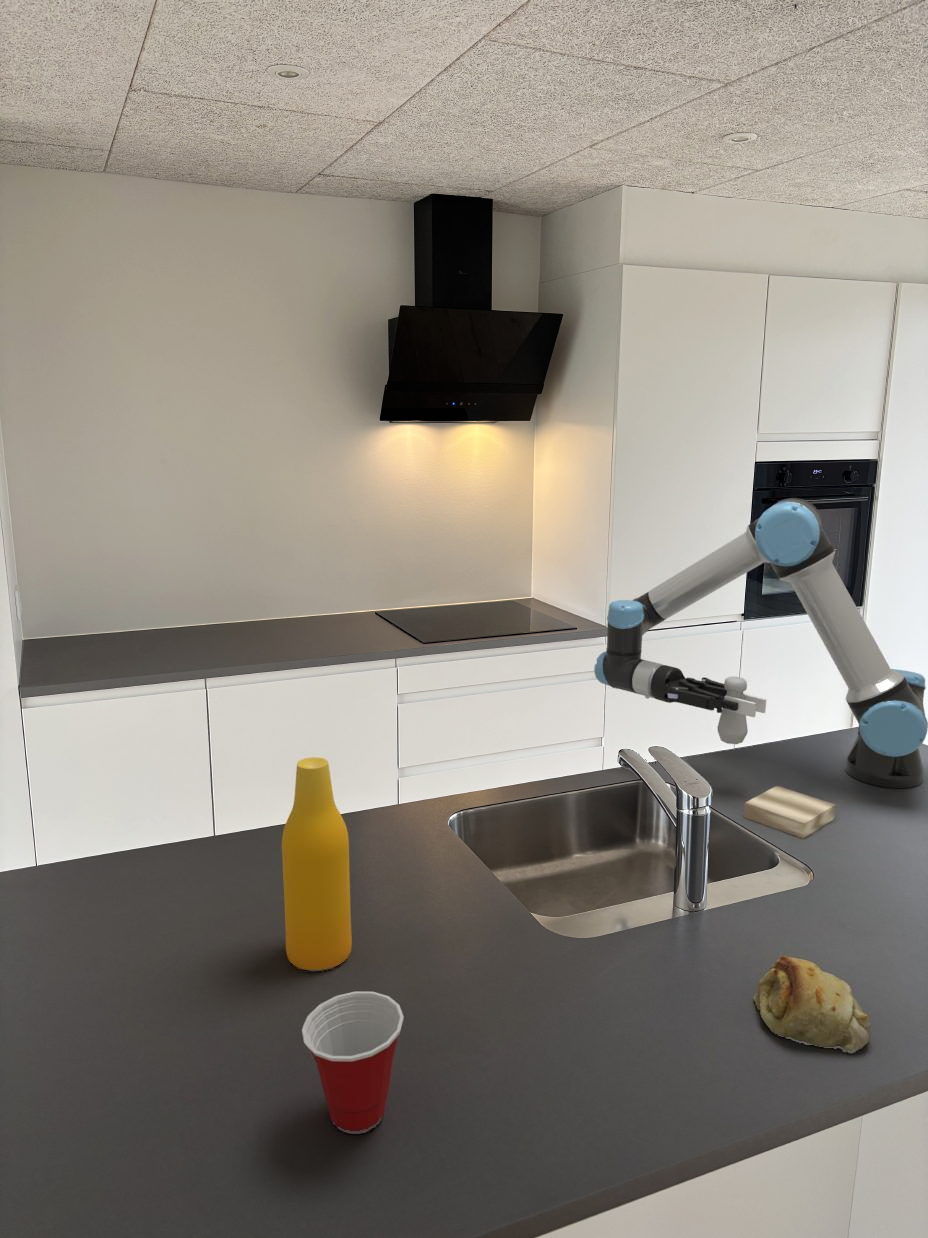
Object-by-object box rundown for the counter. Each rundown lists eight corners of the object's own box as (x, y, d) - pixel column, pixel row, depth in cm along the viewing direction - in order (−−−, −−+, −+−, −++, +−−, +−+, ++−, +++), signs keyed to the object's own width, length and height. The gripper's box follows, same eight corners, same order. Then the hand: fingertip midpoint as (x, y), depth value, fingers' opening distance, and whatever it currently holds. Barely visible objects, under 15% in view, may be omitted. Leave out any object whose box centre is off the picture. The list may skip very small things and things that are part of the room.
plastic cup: (309, 1082, 103) (305, 990, 101) (404, 1077, 104) (402, 986, 102) (301, 1158, 93) (296, 1058, 90) (406, 1152, 94) (404, 1052, 91)
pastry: (731, 1004, 118) (735, 949, 116) (802, 979, 123) (807, 927, 121) (814, 1074, 105) (820, 1014, 104) (889, 1043, 111) (896, 985, 109)
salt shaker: (747, 747, 176) (752, 683, 173) (717, 744, 178) (721, 681, 175) (745, 737, 182) (750, 675, 179) (716, 734, 183) (720, 673, 180)
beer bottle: (365, 953, 128) (361, 762, 122) (313, 983, 122) (305, 782, 115) (324, 928, 134) (318, 745, 128) (273, 955, 128) (263, 763, 121)
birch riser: (775, 799, 180) (776, 785, 179) (834, 819, 171) (835, 804, 171) (743, 817, 172) (745, 802, 171) (803, 838, 163) (804, 823, 163)
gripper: (680, 691, 197) (779, 717, 180) (635, 706, 186) (735, 736, 169) (682, 658, 195) (782, 681, 178) (636, 671, 185) (738, 698, 168)
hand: (759, 708), depth 174 cm, fingers closed on salt shaker, 3 cm apart
